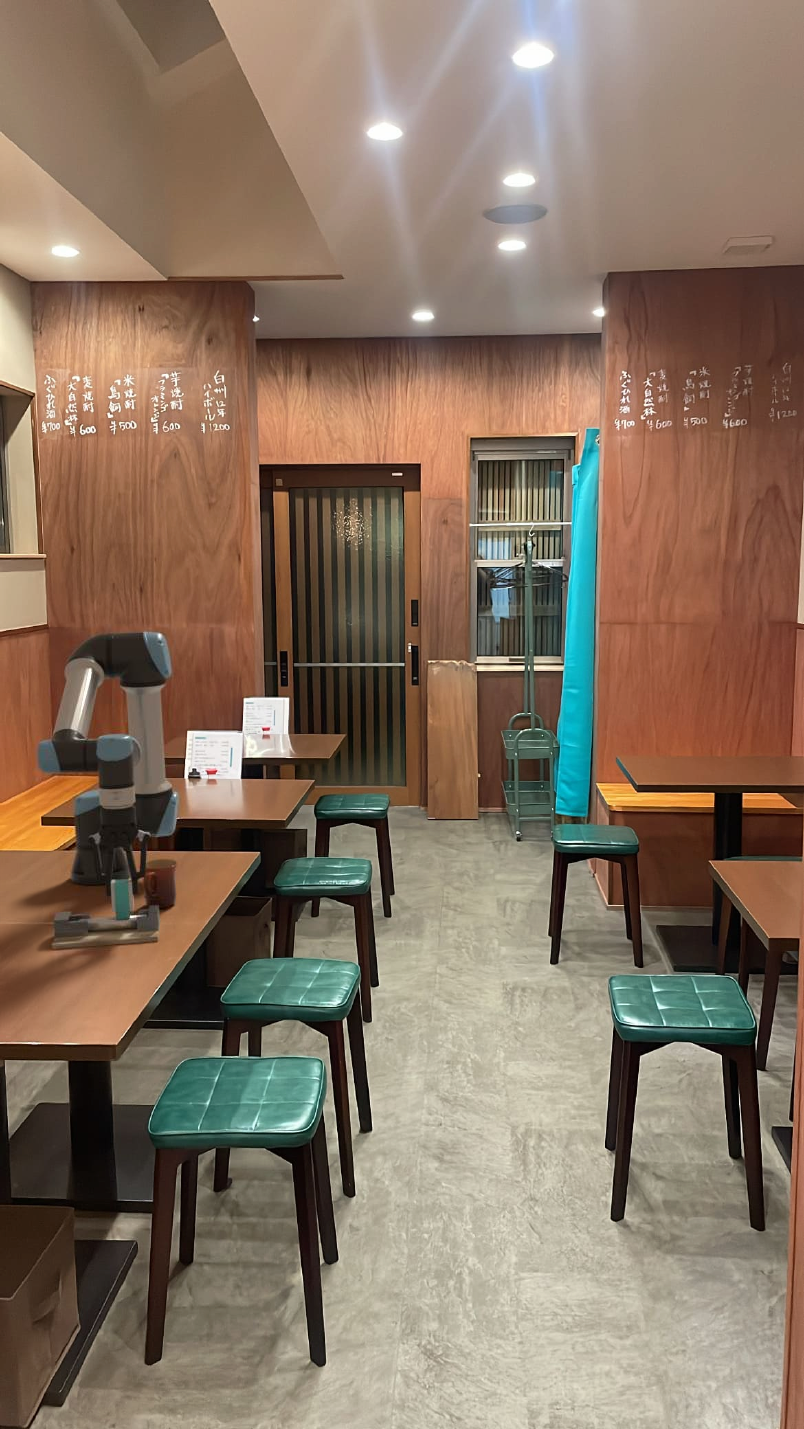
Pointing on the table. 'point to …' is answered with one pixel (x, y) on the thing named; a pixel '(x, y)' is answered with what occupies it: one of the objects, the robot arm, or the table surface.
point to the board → (106, 938)
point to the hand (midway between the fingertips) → (123, 909)
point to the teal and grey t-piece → (122, 911)
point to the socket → (148, 919)
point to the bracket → (70, 925)
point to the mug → (160, 882)
